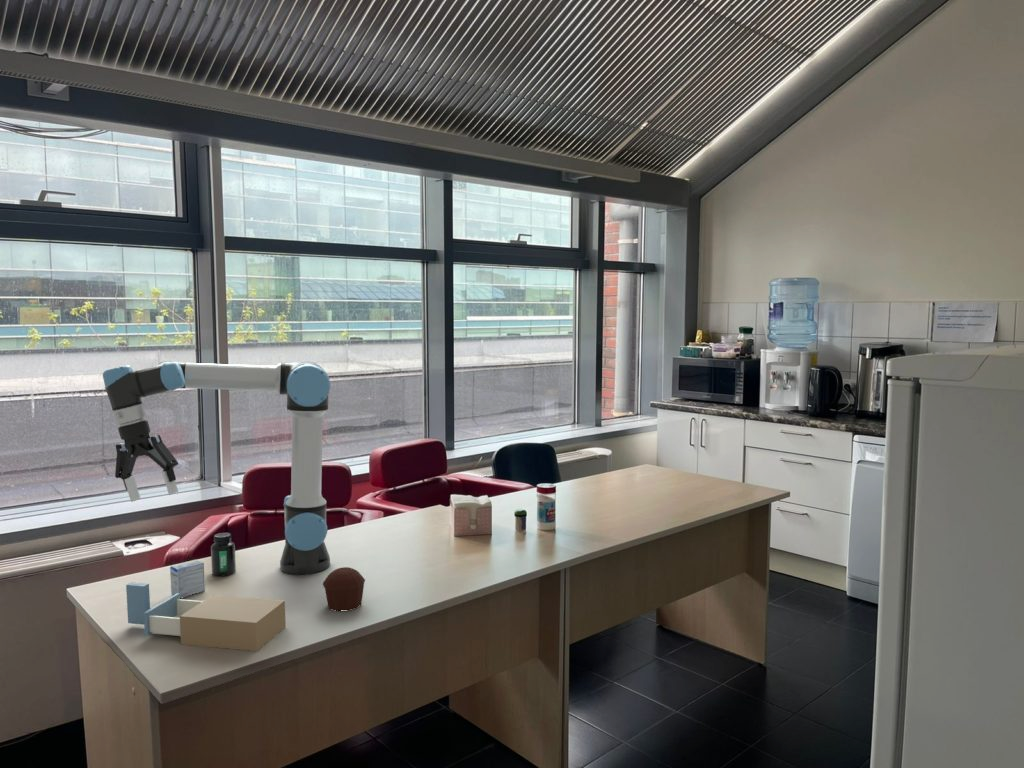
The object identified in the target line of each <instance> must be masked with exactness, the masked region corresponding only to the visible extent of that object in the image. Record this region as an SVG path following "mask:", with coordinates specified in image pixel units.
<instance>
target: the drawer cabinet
mask: <svg viewBox="0 0 1024 768" xmlns="http://www.w3.org/2000/svg"><path fill="white" fill-rule="evenodd" d="M202 601H203V602H201V603H200V604H198V605H197V606H195V607H193V608H192V609H190V610H189V611H187V612H186V613H184V614H182V615H181V616H180V633H181V636H180V645H184V646H194V647H195V646H196V647H197V646H198V647H207V648H216V647H219V648H218V649H226V648H229V649H228V650H237V649H240V651H247V650H250V651H249V652H258V651H259V650H260V649H262V648H263V647H264V646H265V645H267V644H268V643H269V642H270V641H271V640H272V639H273V637H274V636H275V635H276V636H277V635H278V634H279V633H281V632H282V631H283V630H285V629H286V628H287V627H286V626H287V625H286V601H285V600H282V599H270V598H269V599H268V598H257V597H245V596H232V595H231V596H230V595H218V594H212V595H211V596H210V597H208V598H206V599H204V600H202ZM276 636H275V637H276ZM275 637H274V638H275ZM269 640H270V641H269ZM268 641H269V642H268ZM267 642H268V643H267ZM263 645H264V646H263ZM262 646H263V647H262ZM261 647H262V648H261Z"/></svg>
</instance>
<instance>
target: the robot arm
mask: <svg viewBox="0 0 1024 768" xmlns="http://www.w3.org/2000/svg"><path fill="white" fill-rule="evenodd" d="M102 379H103V382H104V389H105V392H106V394H107V397H108V400H109V404H110V406H111V410H112V414H113V417H114V420H115V423H116V425H117V426H119V427H117V430H118V433H119V436H120V439H121V440H122V441H123V442H121V443H117V444H116V445H115V449H116V450H115V451H116V461H115V471H114V473H115V475H114V476H115V478H116V479H121V480H122V481H123V485H124V488H125V490H126V491H127V493H128V496H129V499H130V502H131V503H132V502H136V501H137V500H140V499H141V496H140V491H139V489H138V485H137V482H136V479H135V477H134V475H133V470H134V468H135V464H136V461H137V458H138V457H140V456H142V457H143V456H146V457H148V458H150V460H152V461H153V462H155V464H157V465H158V466H159V467H160V468H162V477H163V480H164V484H165V486H166V489H167V492H168V493H167V494H168V495H169V496H171V495H173V494H175V493H178V492H179V490H178V486H177V483H176V480H177V478H176V474H175V470H174V468H175V467H176V466H178V465H179V461H178V460H177V458H176V457H174V455H173V454H172V452H171V451H170V450H169V448H168V447H167V446H166V445H165V442H163V440H162V437H161V435H160V434H156V435H152V436H151V435H150V433H151V428H150V425H149V421H148V420H146V418H147V414H146V411H145V408H144V405H143V402H142V398H147V397H149V396H154V395H158V394H162V393H166V392H167V393H168V392H173V391H175V390H177V389H190V390H192V389H195V390H196V389H197V390H199V389H200V390H224V391H225V390H229V391H230V390H232V391H234V390H235V391H259V392H261V391H264V392H265V391H266V392H275V393H276V394H277V395H283V396H284V395H285V396H286V411H287V412H288V413H290V415H291V465H290V466H291V467H290V468H291V469H290V470H291V472H290V473H291V474H290V477H291V478H290V479H291V480H290V483H291V484H290V488H291V489H290V495H289V494H288V495H286V496H285V497H284V499H283V507H284V508H283V509H284V510H283V512H284V513H283V514H284V537H285V539H284V540H285V543H284V544H285V545H284V546H283V551H282V554H281V558H280V561H279V565H280V566H279V567H280V570H281V571H282V572H283V573H285V574H290V575H305V574H314V573H318V572H321V571H323V570H326V569H328V568H329V567H330V566H331V557H330V554H329V551H328V549H327V544H326V543H325V540H326V537H327V535H328V525H327V524H328V523H327V500H326V498H324V497H323V494H322V478H323V477H322V476H323V471H322V470H323V425H324V424H323V422H324V421H323V420H324V419H323V417H324V415H325V414H326V413H327V412H328V411H329V394H330V390H331V381H330V377H329V374H328V373H327V371H325V370H324V368H322V366H320V365H319V364H317V363H316V362H312V361H298V362H297V361H296V362H279V363H277V364H276V365H261V364H259V365H254V364H228V363H227V364H225V363H224V364H223V363H218V364H217V363H202V362H201V363H200V362H199V363H197V362H196V363H195V362H194V363H193V362H178V361H170V360H169V361H168V360H167V361H163V362H162V361H161V362H160V363H158V364H157V365H154V366H150V367H147V368H143V369H138V370H134V369H133V368H132V366H131V365H129V364H128V365H123V366H119V367H113V368H110V369H107V370H104V371H103V373H102Z"/></svg>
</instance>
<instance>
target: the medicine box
mask: <svg viewBox="0 0 1024 768" xmlns="http://www.w3.org/2000/svg"><path fill="white" fill-rule="evenodd" d="M169 570H170V571H169V572H170V573H169V574H170V592H171V596H173V595H175V594H176V593H180V598H181V599H183V598H182V597H184V598H187V597H189V596H188V595H190V596H192V594H194V595H196V594H195V593H197V594H200V593H203V592H205V591H206V586H205V585H206V584H205V562H202V561H200V560H198V559H192V560H189V561H185V562H182V563H181V562H180V563H178V564H174V565H172V566H171V565H170V567H169ZM202 591H203V592H202ZM199 592H200V593H199ZM186 596H187V597H186Z"/></svg>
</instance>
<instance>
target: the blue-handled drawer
mask: <svg viewBox="0 0 1024 768" xmlns="http://www.w3.org/2000/svg"><path fill="white" fill-rule="evenodd" d="M125 590H126V591H125V593H126V607H127V608H126V610H127V623H128V624H135V625H144V636H146V637H148V636H150V635H151V634H153V635H154V634H155V635H165V636H166V635H167V636H177V637H181V633H180V616H181V615H182V614H184V613H186V612H187V611H189V610H190V609H192V608H193V607H195V606H197V605H198V604H200V603H201V602H203V601H204V600H194V599H184V598H181V599H180V593H176V594H175V595H173V596H172V595H171V596H170V597H168V598H166V599H165V600H163V601H161V602H159V603H158V604H156V605H153V607H151V600H150V599H151V598H150V596H151V595H150V594H151V593H150V583H147V582H146V583H145V582H132V581H131V582H129V583H127V584H126V585H125Z"/></svg>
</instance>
